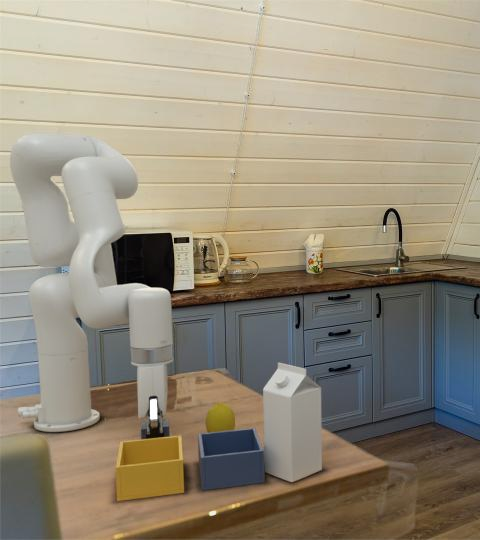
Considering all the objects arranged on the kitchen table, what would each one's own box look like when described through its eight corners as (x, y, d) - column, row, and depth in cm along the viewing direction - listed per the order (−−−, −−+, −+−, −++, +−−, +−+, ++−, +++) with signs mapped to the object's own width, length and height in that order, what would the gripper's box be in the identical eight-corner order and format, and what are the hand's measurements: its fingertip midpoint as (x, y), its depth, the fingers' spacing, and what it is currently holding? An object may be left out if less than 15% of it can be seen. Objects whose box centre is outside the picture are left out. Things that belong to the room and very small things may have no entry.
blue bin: (202, 490, 119) (200, 457, 119) (198, 463, 131) (197, 433, 130) (264, 482, 122) (263, 450, 122) (256, 457, 134) (255, 427, 133)
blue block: (141, 455, 135) (140, 429, 134) (142, 446, 139) (141, 421, 139) (170, 452, 136) (169, 426, 136) (170, 443, 141) (168, 418, 140)
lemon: (228, 448, 138) (227, 407, 137) (201, 446, 139) (200, 405, 138) (240, 438, 144) (239, 399, 143) (214, 436, 145) (213, 397, 144)
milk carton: (295, 461, 132) (293, 358, 130) (322, 470, 127) (321, 365, 125) (264, 473, 126) (262, 366, 124) (292, 483, 122) (290, 373, 120)
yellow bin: (117, 501, 115) (115, 467, 115) (121, 472, 127) (120, 441, 126) (184, 492, 118) (183, 459, 118) (182, 465, 130) (181, 435, 129)
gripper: (132, 345, 143) (136, 434, 145) (128, 366, 126) (133, 466, 128) (172, 343, 145) (176, 430, 147) (173, 363, 129) (177, 461, 131)
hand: (156, 446), depth 138 cm, fingers open, 6 cm apart
